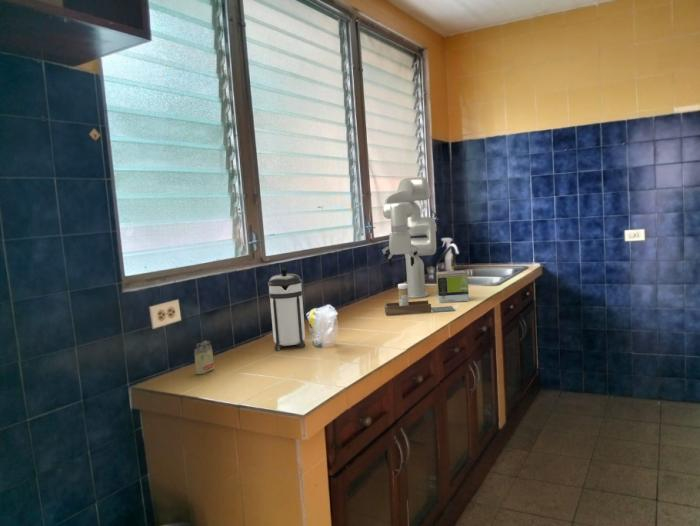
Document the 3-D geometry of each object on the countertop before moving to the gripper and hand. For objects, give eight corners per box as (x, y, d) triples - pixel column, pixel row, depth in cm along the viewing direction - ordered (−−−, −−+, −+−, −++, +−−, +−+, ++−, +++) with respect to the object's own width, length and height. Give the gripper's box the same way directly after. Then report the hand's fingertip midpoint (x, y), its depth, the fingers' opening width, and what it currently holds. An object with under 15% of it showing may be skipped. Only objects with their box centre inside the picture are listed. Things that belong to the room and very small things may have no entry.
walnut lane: (384, 311, 263) (384, 303, 263) (428, 308, 263) (427, 300, 263) (386, 315, 253) (385, 307, 253) (431, 312, 253) (431, 304, 253)
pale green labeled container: (202, 375, 179) (199, 345, 178) (193, 374, 181) (190, 344, 180) (216, 368, 185) (213, 339, 184) (207, 367, 187) (204, 339, 186)
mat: (430, 308, 263) (430, 307, 263) (451, 307, 263) (451, 306, 263) (433, 312, 253) (433, 311, 253) (455, 311, 253) (455, 310, 253)
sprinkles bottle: (398, 311, 260) (396, 283, 259) (408, 311, 261) (406, 283, 259) (400, 313, 256) (398, 285, 255) (410, 312, 256) (408, 284, 255)
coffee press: (319, 343, 211) (313, 265, 208) (287, 353, 199) (281, 270, 196) (290, 338, 223) (284, 264, 219) (258, 347, 211) (251, 269, 208)
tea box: (466, 298, 284) (465, 269, 283) (469, 301, 274) (467, 272, 273) (437, 299, 286) (435, 271, 284) (438, 303, 276) (437, 273, 274)
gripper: (417, 228, 258) (419, 264, 260) (380, 230, 258) (382, 267, 260) (419, 228, 251) (421, 266, 252) (381, 231, 251) (383, 268, 252)
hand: (401, 266), depth 256 cm, fingers open, 9 cm apart
